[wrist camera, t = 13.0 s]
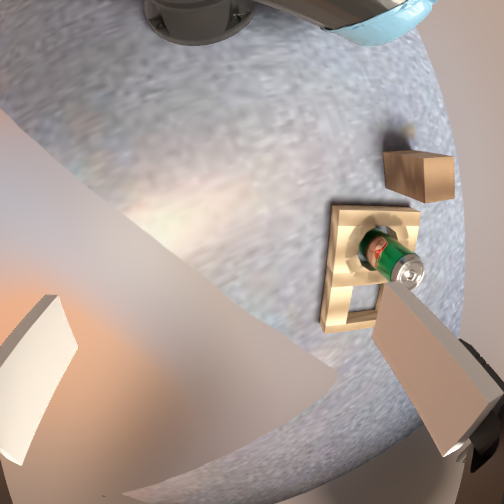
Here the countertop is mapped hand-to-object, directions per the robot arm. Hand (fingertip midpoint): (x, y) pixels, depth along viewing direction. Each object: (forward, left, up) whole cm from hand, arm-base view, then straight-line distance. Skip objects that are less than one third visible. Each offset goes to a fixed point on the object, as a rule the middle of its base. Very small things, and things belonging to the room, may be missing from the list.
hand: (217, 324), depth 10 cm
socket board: (+12, +22, -29) cm, 38 cm away
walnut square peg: (-4, +26, -29) cm, 39 cm away
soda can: (+8, +22, -29) cm, 37 cm away
